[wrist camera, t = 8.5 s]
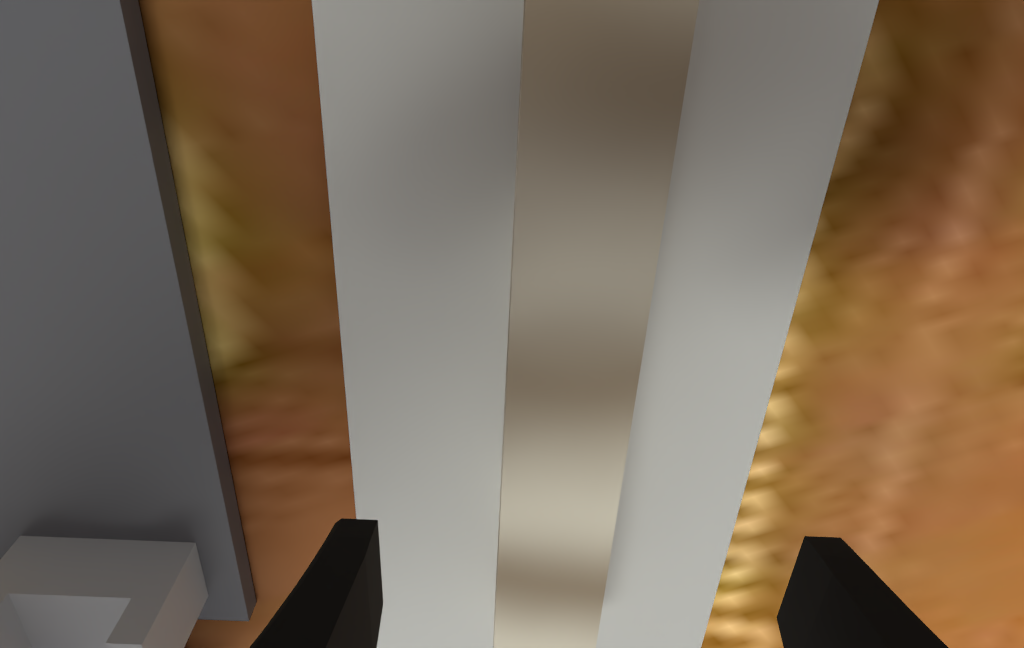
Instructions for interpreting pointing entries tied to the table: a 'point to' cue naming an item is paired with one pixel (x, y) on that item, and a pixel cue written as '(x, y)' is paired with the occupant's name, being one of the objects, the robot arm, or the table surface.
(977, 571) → the table surface
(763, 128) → the mat
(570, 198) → the rail
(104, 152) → the rack
